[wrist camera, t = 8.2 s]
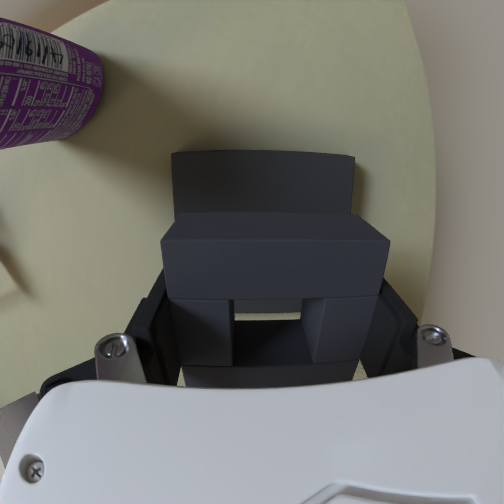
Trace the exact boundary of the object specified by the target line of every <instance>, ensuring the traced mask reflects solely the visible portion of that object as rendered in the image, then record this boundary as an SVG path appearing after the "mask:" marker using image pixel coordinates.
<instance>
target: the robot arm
mask: <svg viewBox="0 0 504 504" xmlns="http://www.w3.org/2000/svg"><path fill="white" fill-rule="evenodd" d="M169 299H170V298H168V294H167V288H166V281H165V274H164V268H163V269H162V271H161V273H160V275H159V276H158V278H157V280H156V282H155V284H154V286H153V287H152V289H151V291H150V293H149V295H148V297H147V298H143V299H142V300H141V302H140V304H139V305H138V307H137V309H136V311H135V313H134V315H133V317H132V319H131V320H130V322H129V324H128V326H127V328H126V330H125V332H124V333H113V334H110V335H107V336H105V337H103V338H101V339H100V340H99V341H98V342H97V344H96V346H95V350H94V353H95V357H94V358H92V359H90V360H88V361H85V362H83V363H81V364H78V365H76V366H74V367H72V368H69V369H67V370H65V371H62V372H60V373H58V374H55V375H53V376H51V377H49V378H48V379H47V380H46V381H44V383H43V384H42V386H41V389H40V393H39V394H36V392H35V391H34V392H32V393H30V394H28V395H26V396H24V397H22V398H20V399H18V400H16V401H14V402H12V403H10V404H8V405H6V406H4V407H2V408H0V455H1V458H2V461H3V464H4V467H5V472H4V475H3V478H2V481H1V484H0V504H504V363H503V362H501V361H499V360H497V359H493V358H486V357H476V356H473V355H470V354H468V353H465V352H462V351H460V350H457V349H455V348H452V346H451V341H450V337H449V335H448V334H447V332H446V331H445V330H443V329H442V328H440V327H438V326H435V325H430V324H427V325H422V326H420V327H419V326H418V325H417V321H418V319H417V317H416V316H415V315H414V314H413V312H412V311H411V310H410V309H409V307H408V306H407V305H406V304H405V303H404V301H403V300H402V299H401V298H400V296H399V295H398V294H397V293H396V292H395V290H394V289H393V288H392V287H391V286H390V285H389V283H388V282H387V281H386V280H385V279H384V278H383V280H382V284H381V288H380V292H379V295H378V299H377V303H376V306H375V310H374V314H373V317H372V321H371V324H370V328H369V331H368V334H367V337H366V341H365V344H364V347H363V350H362V353H361V356H360V361H361V363H362V365H363V367H364V370H365V372H366V374H367V377H368V378H365V379H358V380H351V381H344V382H335V383H326V384H316V385H305V386H291V387H271V388H203V387H185V386H177V382H178V377H179V373H180V368H181V360H180V355H179V350H178V346H177V340H176V335H175V330H174V325H173V319H172V313H171V307H170V301H169Z"/></svg>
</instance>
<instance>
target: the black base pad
mask: <svg viewBox="0 0 504 504" xmlns="http://www.w3.org/2000/svg"><path fill="white" fill-rule="evenodd" d="M171 160H172V183H173V201H174V216H175V221H176V219H177V218H178V217H179V216H180V214H181V213H207V212H281V213H326V214H350V210H351V200H352V190H353V178H354V164H355V157H352V156H348V155H339V154H328V153H315V152H298V151H274V150H210V151H186V152H176V153H172V154H171ZM302 301H303V299H261V300H234V313H290V312H301V309H302Z"/></svg>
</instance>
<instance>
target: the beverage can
mask: <svg viewBox="0 0 504 504" xmlns="http://www.w3.org/2000/svg"><path fill="white" fill-rule="evenodd" d="M102 88H103V69H102V65H101V62H100V60H99V58H98V57H97V55H96V54H95V53H94V52H92V51H91V50H89V49H87V48H85V47H82V46H80V45H78V44H75V43H73V42H71V41H68V40H66V39H63V38H61V37H58V36H55V35H53V34H50V33H47V32H44V31H42V30H39V29H36V28H33V27H30V26H27V25H24V24H21V23H18V22H14V21H11V20H7V19H3V18H0V150H1V149H5V148H11V147H16V146H22V145H28V144H34V143H41V142H48V141H56V140H62V139H66V138H68V137H70V136H72V135H74V134H75V133H76V132H78V131H79V130H80V129H81V128H82V127H83V126H84V125H85V124H86V123H87V121H88V120H89V119H90V117H91V116H92V114H93V113H94V111H95V109H96V107H97V105H98V102H99V100H100V96H101V93H102Z"/></svg>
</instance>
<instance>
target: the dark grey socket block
mask: <svg viewBox="0 0 504 504" xmlns="http://www.w3.org/2000/svg"><path fill="white" fill-rule="evenodd" d="M160 243H161V251H162V259H163V267H164V274H165V281H166V288H167V294H168V298H170V299H169V301H170V307H171V313H172V319H173V325H174V330H175V335H176V340H177V346H178V350H179V355H180V360H181V368H182V372H183V376H184V381H185V385H186V387H203V388H271V387H291V386H305V385H316V384H326V383H335V382H344V381H351V380H352V379H353V376H354V373H355V371H356V368H357V365H358V362H359V359H360V356H361V353H362V350H363V347H364V344H365V341H366V337H367V334H368V331H369V328H370V324H371V321H372V317H373V314H374V310H375V306H376V303H377V299H378V295H379V292H380V288H381V284H382V280H383V276H384V271H385V267H386V262H387V257H388V252H389V247H390V240H388V239H387V238H386V237H385V236H384V235H382V234H381V233H380V232H379V231H377V230H376V229H375V228H374V227H372V226H371V225H370V224H368V223H367V222H366V221H365V220H363V219H362V218H361V217H359V216H358V215H353V214H326V213H281V212H207V213H181V214H180V216H179V217H178V218H177V219H176V221H175V222H174V223H173V225H172V226H171V227H170V228H169V230H168V231H167V232H166V234H165V235H164V236H163V238H162V239H161V241H160ZM261 299H303V301H302V309H301V317H300V319H295V320H235V316H234V300H261Z"/></svg>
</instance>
